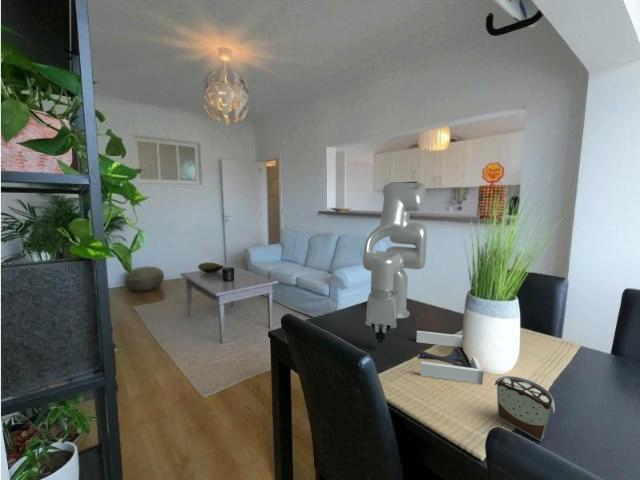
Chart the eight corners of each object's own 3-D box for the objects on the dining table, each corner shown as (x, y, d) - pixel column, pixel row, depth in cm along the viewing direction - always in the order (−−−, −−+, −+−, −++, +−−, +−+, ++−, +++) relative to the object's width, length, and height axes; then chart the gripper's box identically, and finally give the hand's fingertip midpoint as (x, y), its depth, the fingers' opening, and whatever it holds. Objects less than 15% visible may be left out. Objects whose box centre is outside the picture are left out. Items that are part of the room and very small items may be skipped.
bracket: (416, 348, 111) (416, 341, 110) (459, 352, 109) (459, 344, 108) (423, 371, 97) (423, 363, 96) (473, 375, 94) (473, 367, 94)
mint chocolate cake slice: (559, 433, 71) (564, 394, 69) (549, 446, 67) (554, 405, 66) (503, 404, 81) (506, 369, 79) (491, 413, 77) (495, 377, 76)
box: (416, 340, 116) (416, 330, 115) (465, 346, 111) (466, 336, 111) (420, 375, 93) (421, 363, 93) (482, 384, 89) (483, 371, 88)
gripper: (404, 290, 106) (402, 338, 110) (361, 286, 110) (360, 334, 113) (404, 297, 99) (402, 349, 102) (358, 294, 103) (357, 344, 106)
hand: (380, 341), depth 108 cm, fingers closed
